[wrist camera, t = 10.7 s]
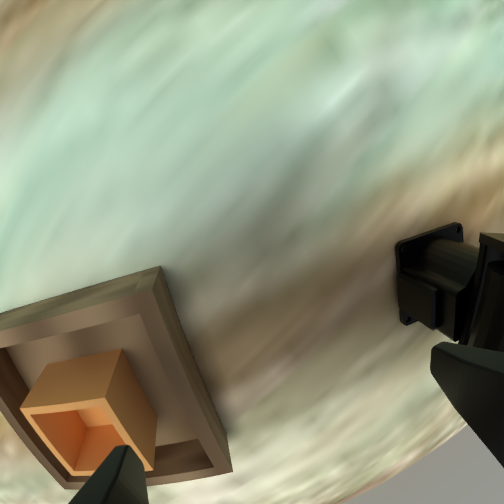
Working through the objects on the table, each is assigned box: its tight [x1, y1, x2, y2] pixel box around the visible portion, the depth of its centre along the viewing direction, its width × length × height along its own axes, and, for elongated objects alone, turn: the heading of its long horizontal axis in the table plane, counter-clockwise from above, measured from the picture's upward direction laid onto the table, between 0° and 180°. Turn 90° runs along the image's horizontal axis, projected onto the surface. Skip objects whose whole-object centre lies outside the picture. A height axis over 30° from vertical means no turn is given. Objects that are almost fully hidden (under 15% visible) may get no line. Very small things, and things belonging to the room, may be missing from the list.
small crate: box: [20, 348, 158, 476], centre depth 16 cm, size 6×6×5 cm
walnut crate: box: [0, 266, 233, 490], centre depth 17 cm, size 14×14×4 cm
